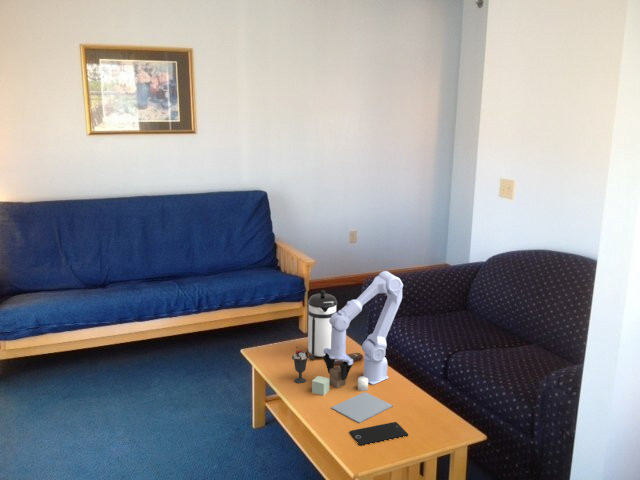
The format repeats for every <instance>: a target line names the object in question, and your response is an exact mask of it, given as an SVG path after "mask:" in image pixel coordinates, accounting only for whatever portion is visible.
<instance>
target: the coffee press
mask: <svg viewBox="0 0 640 480" xmlns="http://www.w3.org/2000/svg"><path fill="white" fill-rule="evenodd" d="M307 305H308V309H307V316H308V321H307V322H308V323H307V325H308V326H307V327H308V328H307V335H308V336H307V351H308V353H309V354H310V356H309V359H310V361H314V360H315V359H316V357H322V358H323V356H325V355H326V354H323V352H324V349H325V348H328V349H331V331H332V325H331V324H330V322H329V319H330V318H331V316H332V315H333V314H334V313H338V311H337V305H338V300H337V299H336V297H335V296H334V295H332V294H329V293H326V290H324V289H321V290H320V291H319V293H316V294H313V295H311V296H310V297H309V298H308V300H307Z"/></svg>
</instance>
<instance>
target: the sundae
mask: <svg viewBox="0 0 640 480" xmlns="http://www.w3.org/2000/svg"><path fill="white" fill-rule="evenodd" d="M295 348H296V349H297V350H295V352H294V354H293V355H292V357H291V359H292V360H293V361H294V362H293V363H294V369H295V371H296V372H297V373H298V377H296V378H294V380H293V381H294V383H296V384H305V383H307V379H306V378H304V377H303V373H304V372H305V371H306V368H307V362H308V359H310V356H309V351H308V350H307V351H304V350H302V349H300V348H298V346H295Z"/></svg>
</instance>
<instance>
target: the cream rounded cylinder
mask: <svg viewBox="0 0 640 480" xmlns="http://www.w3.org/2000/svg"><path fill="white" fill-rule="evenodd" d="M357 390H358V391H361V392H366V391H368V390H369V383H368V378H366V377H360V376H359V377H357Z"/></svg>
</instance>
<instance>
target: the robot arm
mask: <svg viewBox="0 0 640 480" xmlns="http://www.w3.org/2000/svg"><path fill="white" fill-rule="evenodd" d="M403 287H404V284H403V282H402V280H401V279H400V277H398V276H396V275H394V274H392V273H391V272H390V271H387V270H384V271H381V272H380V273H378V275H376V276H375V277H374V279H373V281H372V283H371V284H370V285H368V287H367V288H366V289H365V290H364V291H363V292H362V293H361V294H360V295H359V296H358V297H357V298H356V299H351V300H348V301H347V302H346V304H345V305H344V307H342V308H341V309H339V310H338V311H337V313H334V314H333V315H332V316H331V318H330V319H329V322H330V324H331V325H332V331H331V349H328V348H325V349H324V352H323V354H326V355H325V356H323V357H322V359H323V361H324V363H325V366H326V368H327V369H326V370H327V373H328V374H329V375H330V369H331V368H333V367H335V361H336V360H339V361H340V362H342V363H339V364H338V366H339V367H340V368H341V378H342V380H345V379H346V380H347V378H348V376H349V372H350V370H351V368H352V367H353V365H354V359H353V358H351V357H350V356H349V355H348V354H347V353H346V351H347V350H346V345H347V330H348V328H349V327H350V323H351V321H353V319H354V318H356V317H357V316H358V315H359V314H360V313H361V312H362V311H363V306H364V305H365V304H367V303H368V302H369V301H370V300H371V299H373V298H374V297H375V296H376V295H378V294H386V296H387V297H386V300H385V302H384V306H383V308H382V309H381V312H380V314H379V317H378V320H377V321H376V322H377V323H376V325H375V327H374V330H373V332H372V333H370V334H368V336H367V338H366V339H365V340H364V341H363V343H362V345H361V349H362V352H363V353H364V357H363V358H364V359H363V360H364V361H363V375H360V376H359V377H366V378H368V384H370V385H372V386H374V385H376V384H379V383H380V382H383V381H385V380H387V379H389V377H390V376H388V360H387V357H385V356H386V349H387V345H388V344H387V336H388V333H389V331H390V329H391V327H392V324H393V322H394V319H395V317H396V314H397V312H398V310H399V307H400V305H401V303H402V299H403Z"/></svg>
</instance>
